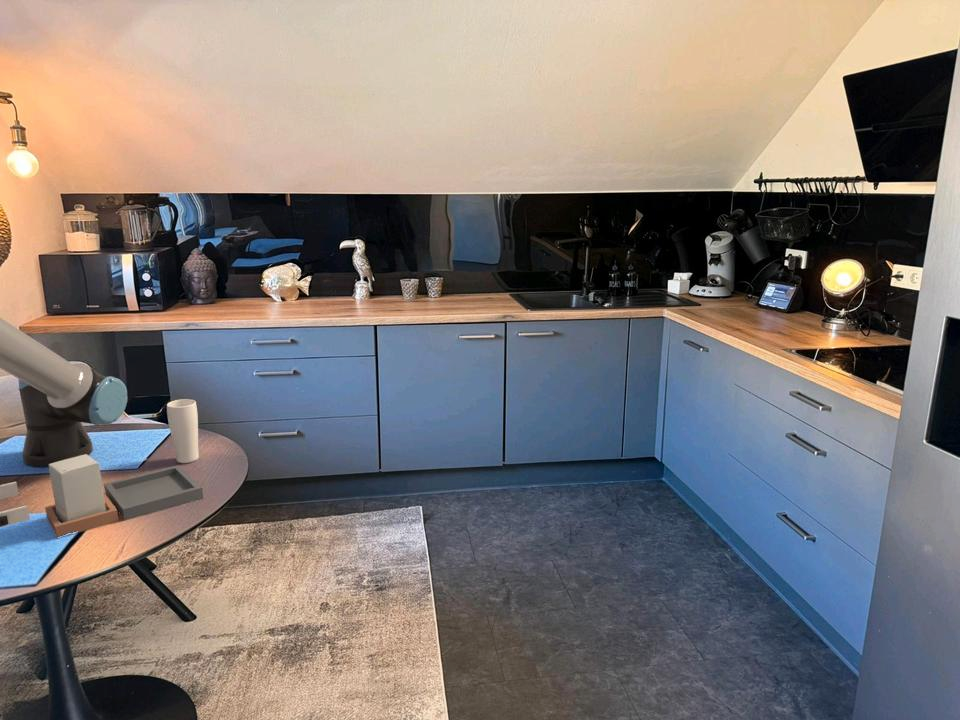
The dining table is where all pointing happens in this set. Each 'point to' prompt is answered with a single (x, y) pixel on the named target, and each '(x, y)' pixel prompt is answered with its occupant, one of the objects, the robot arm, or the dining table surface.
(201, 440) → the dining table surface
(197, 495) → the charcoal tray
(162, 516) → the dining table surface
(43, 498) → the dining table surface
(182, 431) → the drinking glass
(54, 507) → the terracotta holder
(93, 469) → the supplement box
